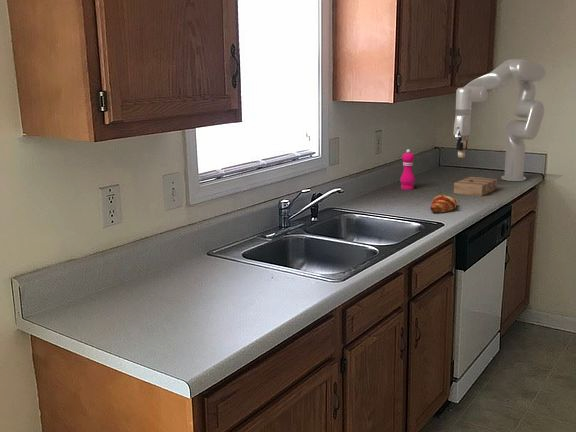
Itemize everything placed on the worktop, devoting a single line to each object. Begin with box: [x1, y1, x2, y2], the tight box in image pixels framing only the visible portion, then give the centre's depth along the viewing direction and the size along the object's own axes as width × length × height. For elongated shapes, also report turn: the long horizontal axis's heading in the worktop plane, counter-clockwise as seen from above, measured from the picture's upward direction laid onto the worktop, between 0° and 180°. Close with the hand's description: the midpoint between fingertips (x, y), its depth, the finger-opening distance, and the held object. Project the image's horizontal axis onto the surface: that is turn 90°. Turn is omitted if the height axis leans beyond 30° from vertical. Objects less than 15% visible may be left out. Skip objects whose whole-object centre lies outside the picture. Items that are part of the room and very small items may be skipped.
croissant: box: [429, 194, 458, 213], centre depth 282 cm, size 21×10×8 cm, turn 140°
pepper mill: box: [399, 149, 416, 191], centre depth 326 cm, size 7×7×20 cm
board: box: [453, 176, 498, 197], centre depth 318 cm, size 20×14×5 cm
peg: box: [457, 135, 467, 159], centre depth 324 cm, size 4×4×12 cm
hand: (461, 149), depth 325 cm, fingers closed on peg, 4 cm apart
